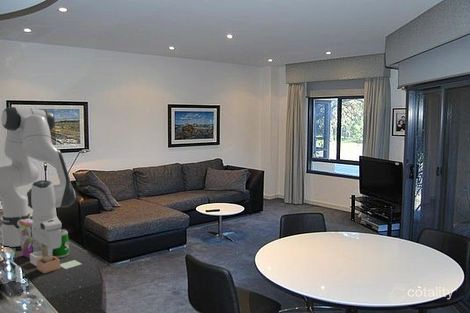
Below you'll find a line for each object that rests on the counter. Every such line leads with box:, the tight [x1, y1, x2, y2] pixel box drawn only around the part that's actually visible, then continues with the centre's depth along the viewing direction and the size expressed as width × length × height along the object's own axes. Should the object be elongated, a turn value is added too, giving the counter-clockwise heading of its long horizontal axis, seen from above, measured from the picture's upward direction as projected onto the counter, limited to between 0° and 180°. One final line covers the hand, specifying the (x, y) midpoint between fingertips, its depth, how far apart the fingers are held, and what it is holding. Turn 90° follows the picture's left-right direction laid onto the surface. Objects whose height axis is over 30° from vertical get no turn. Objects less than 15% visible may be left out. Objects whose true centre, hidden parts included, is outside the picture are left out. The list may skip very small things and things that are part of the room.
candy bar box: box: [19, 218, 42, 259], centre depth 182 cm, size 11×5×16 cm, turn 53°
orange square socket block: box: [36, 256, 61, 274], centre depth 166 cm, size 7×7×4 cm
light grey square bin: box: [29, 251, 42, 267], centre depth 174 cm, size 7×7×4 cm
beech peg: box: [41, 244, 52, 263], centre depth 166 cm, size 4×4×10 cm
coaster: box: [60, 259, 82, 270], centre depth 171 cm, size 7×7×1 cm
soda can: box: [52, 228, 70, 259], centre depth 181 cm, size 8×8×12 cm
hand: (47, 254), depth 166 cm, fingers closed on beech peg, 4 cm apart
